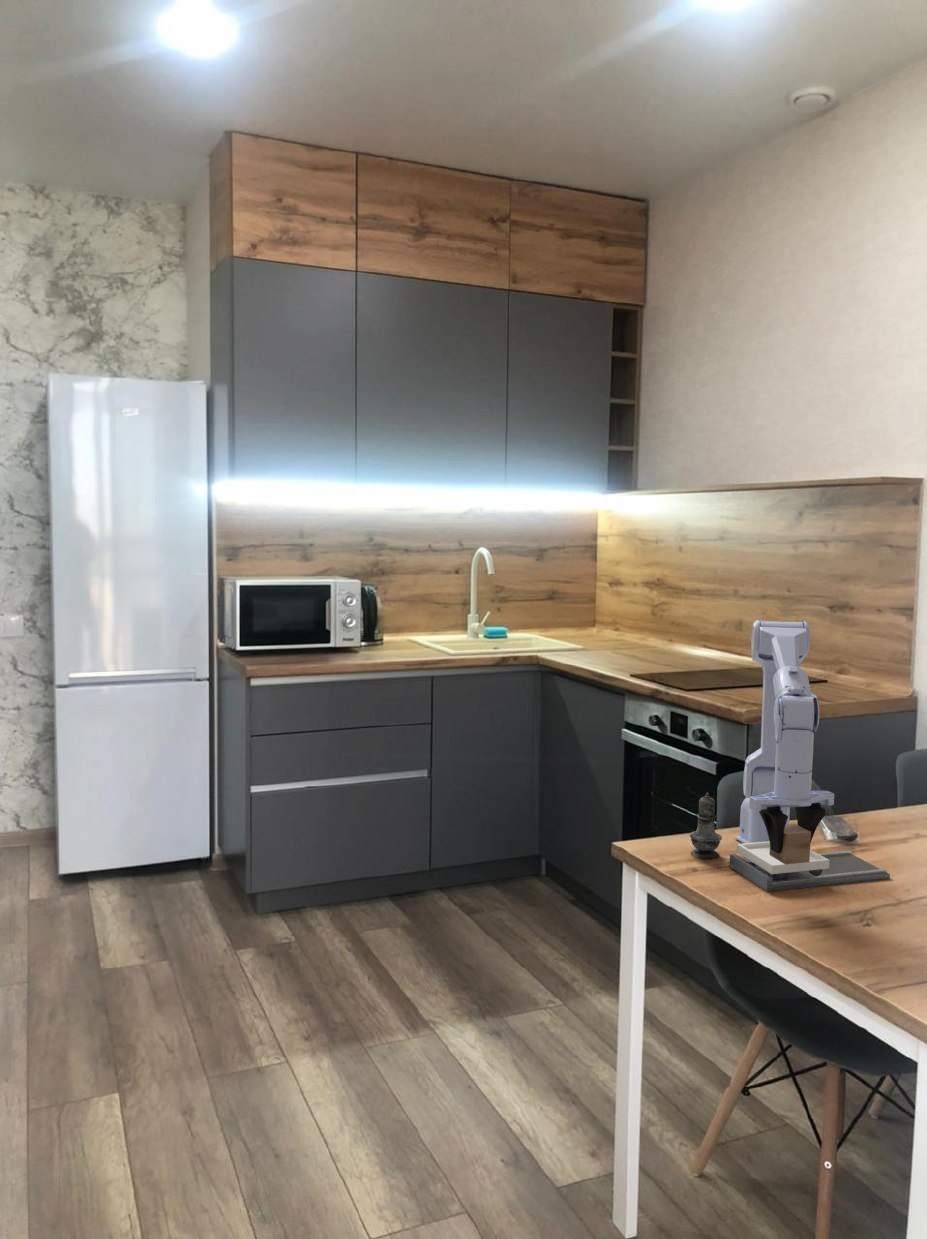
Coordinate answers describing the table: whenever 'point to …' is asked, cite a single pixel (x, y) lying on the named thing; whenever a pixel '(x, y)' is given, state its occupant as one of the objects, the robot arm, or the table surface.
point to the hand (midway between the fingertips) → (789, 849)
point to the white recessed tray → (762, 858)
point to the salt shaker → (705, 831)
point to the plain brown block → (794, 845)
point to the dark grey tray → (840, 871)
